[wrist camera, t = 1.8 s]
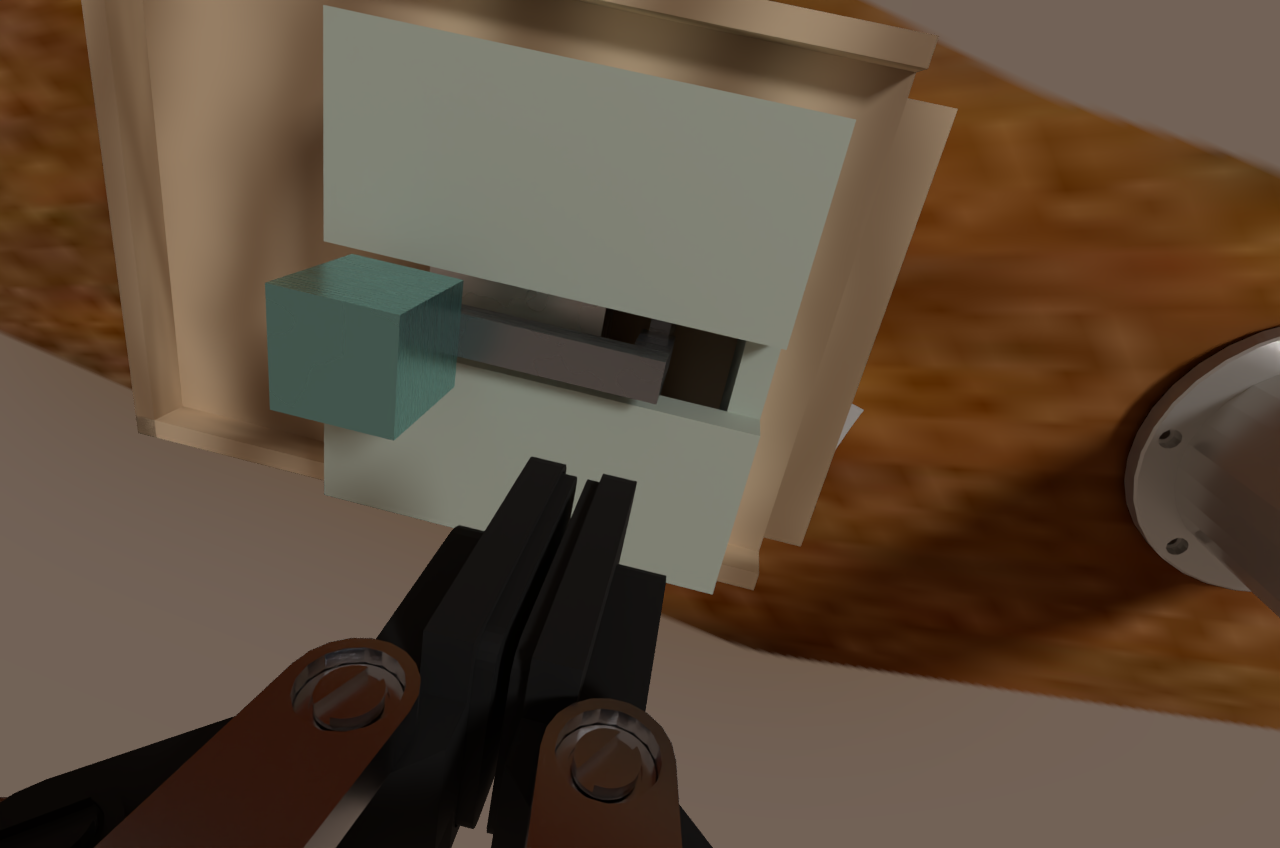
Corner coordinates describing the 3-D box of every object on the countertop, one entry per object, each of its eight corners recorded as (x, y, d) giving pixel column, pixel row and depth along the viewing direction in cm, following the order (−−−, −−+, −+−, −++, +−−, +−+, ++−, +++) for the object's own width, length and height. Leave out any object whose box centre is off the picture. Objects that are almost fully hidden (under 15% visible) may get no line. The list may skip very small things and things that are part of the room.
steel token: (631, 213, 23) (621, 221, 21) (601, 377, 26) (590, 396, 24) (460, 174, 23) (435, 178, 21) (447, 340, 26) (424, 356, 24)
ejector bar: (719, 167, 22) (694, 201, 13) (655, 444, 26) (601, 619, 17) (461, 110, 22) (258, 103, 13) (440, 391, 26) (274, 534, 17)
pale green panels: (831, 120, 21) (856, 119, 16) (719, 503, 27) (712, 594, 22) (425, 32, 22) (323, 4, 17) (404, 424, 28) (323, 494, 22)
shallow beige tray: (923, 69, 26) (994, 47, 18) (782, 491, 34) (791, 599, 26) (254, -72, 28) (61, -146, 20) (271, 365, 36) (138, 433, 28)
